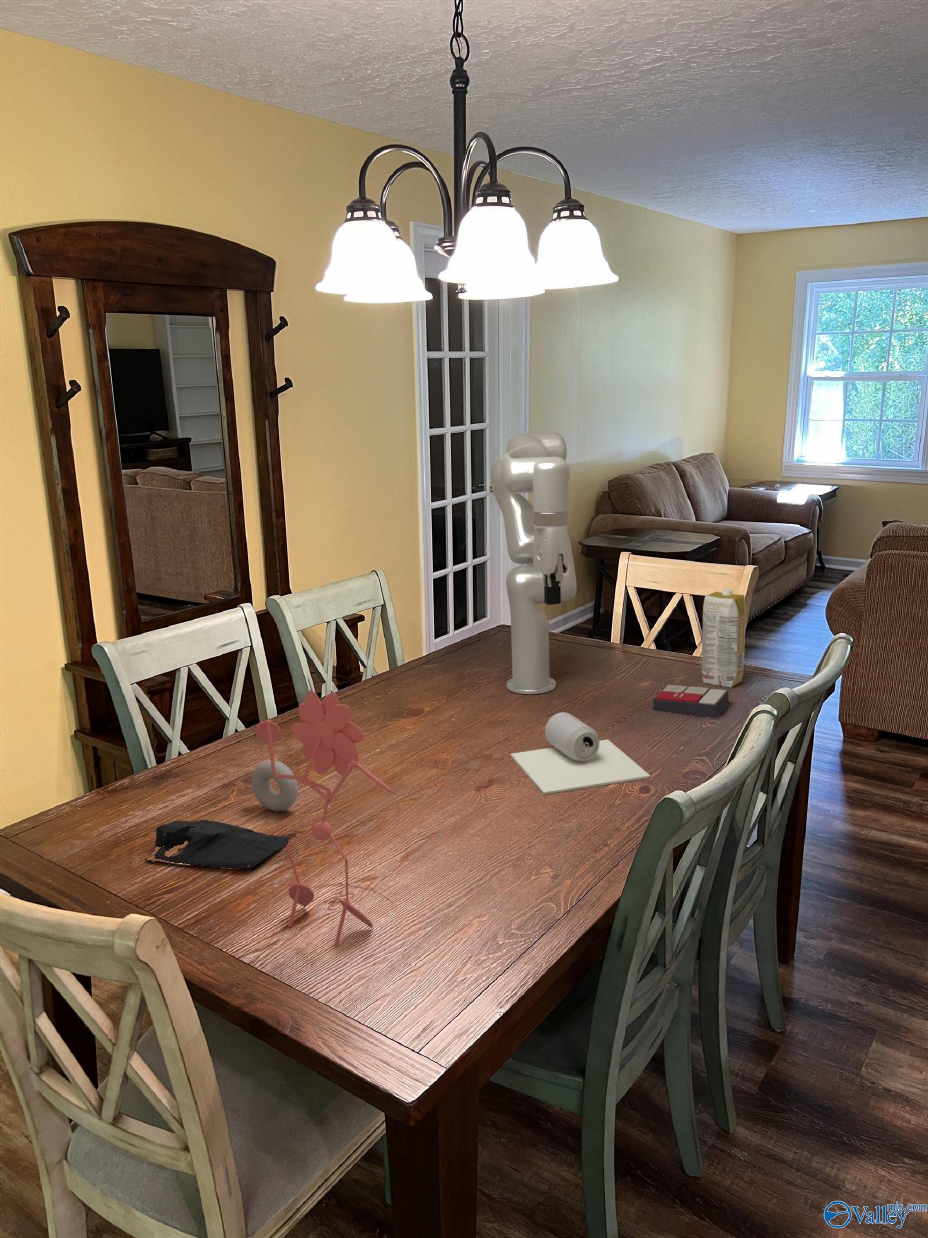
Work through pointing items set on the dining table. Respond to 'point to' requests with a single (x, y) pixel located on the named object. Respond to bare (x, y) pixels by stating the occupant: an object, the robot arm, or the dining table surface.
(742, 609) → the juice carton
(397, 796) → the dining table surface
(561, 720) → the can
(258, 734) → the pink wire flower sculpture
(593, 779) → the mat
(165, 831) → the crumpled black cloth
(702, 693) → the gray and red box
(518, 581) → the robot arm
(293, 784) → the donut
